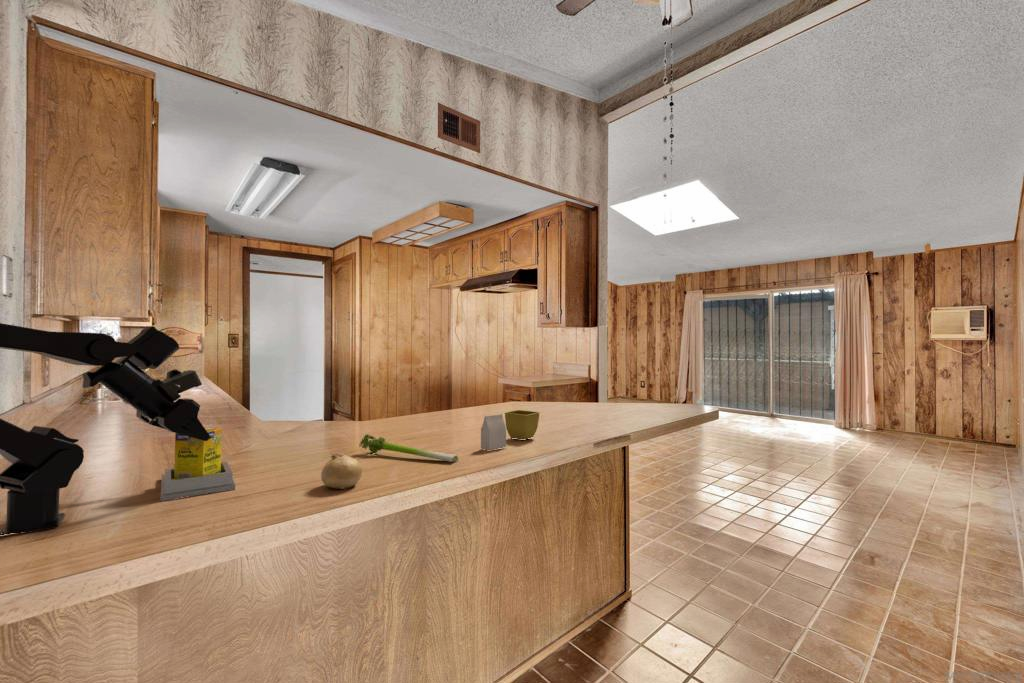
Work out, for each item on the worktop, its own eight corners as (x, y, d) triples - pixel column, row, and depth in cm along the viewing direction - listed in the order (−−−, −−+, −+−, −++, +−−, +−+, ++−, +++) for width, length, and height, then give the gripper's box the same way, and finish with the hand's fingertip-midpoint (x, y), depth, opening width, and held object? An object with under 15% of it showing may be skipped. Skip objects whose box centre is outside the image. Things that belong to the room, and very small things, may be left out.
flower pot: (540, 438, 145) (540, 411, 146) (527, 443, 138) (527, 414, 138) (517, 436, 150) (517, 409, 150) (503, 440, 143) (503, 412, 143)
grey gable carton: (505, 448, 131) (506, 414, 131) (489, 451, 126) (489, 417, 126) (497, 446, 133) (497, 413, 133) (480, 449, 128) (481, 415, 129)
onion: (360, 479, 98) (361, 447, 98) (362, 490, 90) (363, 455, 90) (321, 483, 95) (322, 450, 95) (320, 494, 87) (321, 459, 87)
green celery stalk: (447, 474, 110) (352, 454, 120) (460, 471, 116) (368, 452, 127) (451, 449, 110) (356, 431, 121) (463, 448, 117) (372, 431, 127)
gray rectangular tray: (235, 489, 90) (235, 472, 90) (160, 501, 83) (161, 482, 83) (226, 470, 104) (226, 455, 104) (161, 479, 97) (162, 463, 97)
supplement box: (203, 487, 88) (203, 432, 88) (172, 487, 88) (173, 433, 88) (221, 478, 94) (222, 427, 94) (193, 478, 94) (194, 427, 94)
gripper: (189, 357, 82) (250, 410, 91) (157, 356, 93) (215, 403, 102) (133, 402, 76) (205, 455, 84) (107, 395, 87) (172, 443, 95)
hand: (200, 436), depth 91 cm, fingers open, 8 cm apart
